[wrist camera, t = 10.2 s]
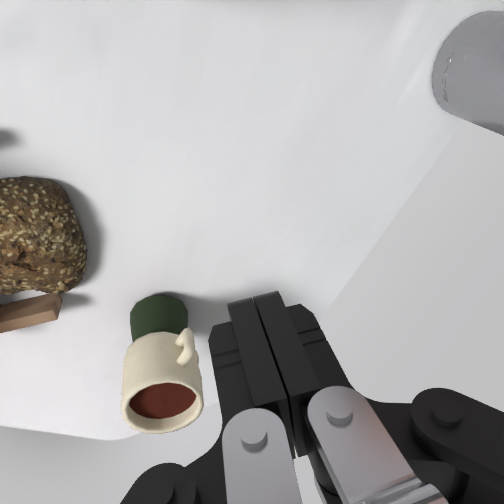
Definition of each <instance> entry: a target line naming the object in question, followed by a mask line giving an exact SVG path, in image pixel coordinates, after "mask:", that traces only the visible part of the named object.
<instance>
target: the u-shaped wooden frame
mask: <svg viewBox="0 0 504 504" xmlns="http://www.w3.org/2000/svg"><path fill="white" fill-rule="evenodd" d="M61 304H62V299H61V297H60V295H59V293H58V294H57V293H50V294H46V295H42V296H38V297H33V298H29V299H25V300H21V301H16V302H12V303H8V304H4V305H0V333H3V332H7V331H12V330H16V329H20V328H24V327H28V326H32V325H36V324H40V323H45V322H49V321H53V320H57V319H58V315H59V312H60V308H61Z"/></svg>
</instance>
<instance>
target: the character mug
mask: <svg viewBox="0 0 504 504" xmlns="http://www.w3.org/2000/svg"><path fill="white" fill-rule="evenodd" d="M187 324H188V311H187V309H186V307H185V306H184V304H183V302H181V301H179V300H177V299H175V298H173V297H168V296H162V295H158V296H151V297H146V298H145V299H143V300H141V301H139V302H137V303H136V304H135V306H134V308H133V309H132V311H131V312H130V325H131V334H132V340H133V343H132V344H131V345H130V346H129V347H128V349H127V352H126V355H125V358H124V362H123V379H122V398H121V410H122V414H123V418H124V421H125V422H126V423H127V424H128V425H129V426H131V427H132V428H133V429H136V430H138V431H141V432H143V433H152V434H162V433H168V432H174V431H177V430H179V429H181V428H184V427H186V426H188V425H189V424H191V423H192V422H194V421H195V420H196V419H197V418H198V417H199V415H200V414H201V412H202V409H203V406H204V401H203V391H202V378H201V374H200V370H199V367H198V363H199V357H198V353H197V351H196V350H195V343H194V336H193V332H192V330H191V329H190V328H187Z"/></svg>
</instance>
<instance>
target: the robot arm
mask: <svg viewBox="0 0 504 504" xmlns="http://www.w3.org/2000/svg"><path fill="white" fill-rule="evenodd" d="M432 88H433V93H434V96H435V98H436V100H437V103H438V104H439V105H440V106H441V107H442V109H443V110H445V111H447V112H448V113H450V114H452V115H455V116H457V117H459V118H462V119H464V120H467V121H469V122H472V123H474V124H476V125H479V126H481V127H484V128H486V129H489V130H491V131H494V132H496V133H499V134H501V135H503V136H504V12H501V11H487V12H481V13H478V14H476V15H473V16H471V17H469V18H468V19H466V20H465V21H463V22H462V23H460V24H459V25H458V26H457V27H456V28H455V29H454V30H453V31H452V32H451V34H450V35H449V36H448V38H447V39H446V40H445V42H444V43H443V45H442V47H441V49H440V51H439V52H438V55H437V58H436V61H435V63H434V68H433V73H432ZM253 301H254V302H253ZM227 306H228V311H229V315H230V320H231V322H227V323H223V324H219V325H215V326H213V328H212V331H211V334H210V337H209V340H208V342H209V348H210V353H211V358H212V364H213V369H214V375H215V380H216V386H217V391H218V397H219V402H220V407H221V413H222V421H223V424H222V430H221V433H220V436H219V438H218V440H217V441H216V443H215V444H214V445H213V447H212V448H211V449H210V450H209V451H208V452H207V453H205V454H204V455H203V456H201V457H200V458H198V459H197V460H195V461H194V462H192V463H191V464H189V465H188V466H186V467H183V466H181V465H179V464H176V463H163V464H159V465H156V466H154V467H152V468H150V469H148V470H147V471H146V472H144V473H143V474H142V475H141V476H140V477H139V478H138V479H137V480H136V481H135V483H134V484H133V485H132V487H131V488H130V490H129V491H128V493H127V494H126V496H125V497H124V499H123V500H122V502H121V503H120V504H302V499H301V495H300V491H299V486H298V482H297V478H296V473H295V469H294V462H293V459H295V458H296V457H295V450H294V446H295V449H296V452H297V455H298V457H301V456H305V455H308V457H309V459H310V462H311V465H312V468H313V470H314V479H315V485H316V488H317V490H318V493H319V495H320V497H321V500H322V502H323V504H504V412H502V411H499V410H497V409H495V408H492V407H490V406H488V405H485V404H483V403H481V402H479V401H477V400H474V399H472V398H470V397H467V396H465V395H463V394H461V393H458V392H456V391H453V390H449V389H445V388H431V389H427V390H424V391H422V392H420V393H419V394H418V395H417V396H416V397H415V398H414V400H413V402H412V403H411V404H410V403H383V402H378V401H374V400H371V399H368V398H366V397H364V396H363V395H361V394H360V393H359V392H357V391H356V390H355V389H354V388H353V387H352V386H351V384H350V383H349V381H348V379H347V377H346V375H345V373H344V372H343V370H342V368H341V366H340V364H339V362H338V360H337V358H336V356H335V354H334V352H333V350H332V349H331V347H330V345H329V343H328V341H327V340H326V337H325V335H324V334H323V331H322V330H321V329H320V326H319V324H318V322H317V320H316V318H315V316H314V314H313V313H312V312H310V311H309V310H308V309H306V308H305V307H304V306H302V305H301V304H297V305H293V306H289V307H285V305H284V302H283V300H282V298H281V296H280V294H279V292H278V291H275V292H271V293H267V294H263V295H259V296H255V297H253V299H252V298H247V299H243V300H239V301H235V302H231V303H227Z"/></svg>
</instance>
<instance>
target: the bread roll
mask: <svg viewBox="0 0 504 504" xmlns="http://www.w3.org/2000/svg"><path fill="white" fill-rule="evenodd" d="M86 254H87V249H86V245H85V242H84V237H83V232H82V230H81V227H80V225H79V222H78V220H77V219H76V217H75V215H74V211H73V209H72V205H71V203H70V201H69V199H68V195H67V194H66V192H65V191H64V190H63V188H62V187H61V186H59V185H58V184H56V183H54V182H51V181H49V180H40V179H33V178H28V177H23V176H22V177H19V178H6V179H0V294H6V295H11V294H14V293H17V292H19V291H25V290H32V289H34V290H36V291H42V292H45V293H57V294H58V293H64V292H67V291H69V290H71V289H72V288H74V287H75V286H76V285H77V284H78V283H79V282H80V281H81V280H82V274H83V273H84V272H85V270H86V260H87V255H86Z"/></svg>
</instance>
